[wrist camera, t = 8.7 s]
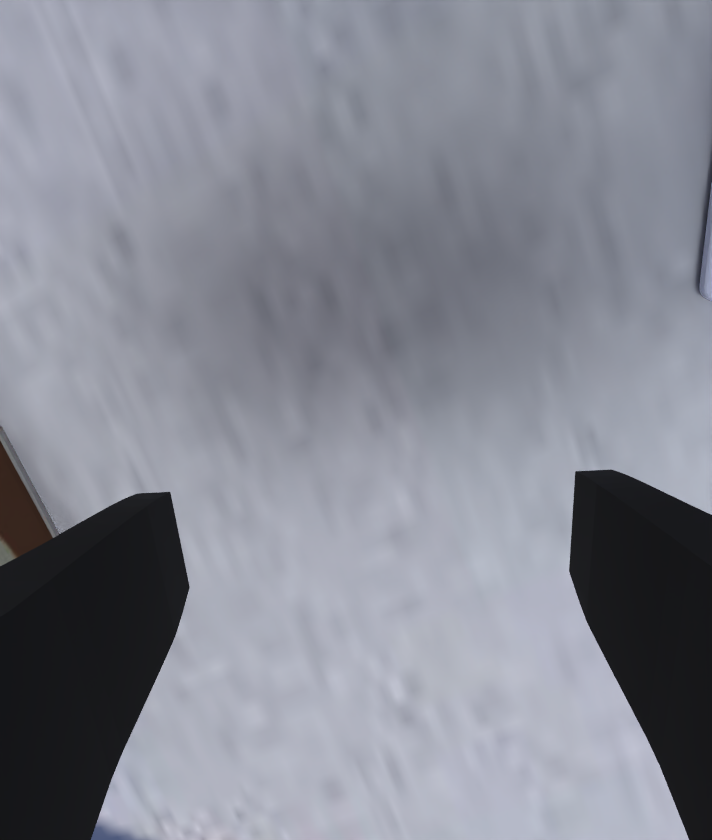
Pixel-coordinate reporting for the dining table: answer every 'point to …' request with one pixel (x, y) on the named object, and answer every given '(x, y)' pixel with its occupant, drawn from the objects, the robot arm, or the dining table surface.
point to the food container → (19, 508)
